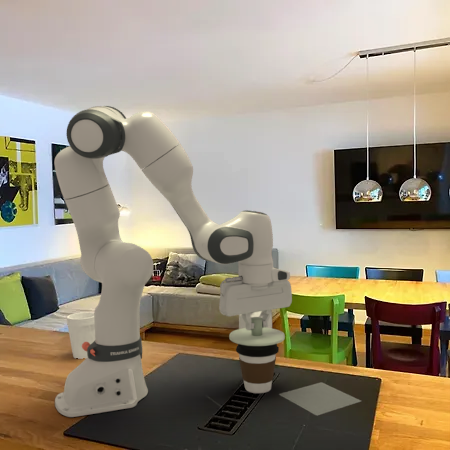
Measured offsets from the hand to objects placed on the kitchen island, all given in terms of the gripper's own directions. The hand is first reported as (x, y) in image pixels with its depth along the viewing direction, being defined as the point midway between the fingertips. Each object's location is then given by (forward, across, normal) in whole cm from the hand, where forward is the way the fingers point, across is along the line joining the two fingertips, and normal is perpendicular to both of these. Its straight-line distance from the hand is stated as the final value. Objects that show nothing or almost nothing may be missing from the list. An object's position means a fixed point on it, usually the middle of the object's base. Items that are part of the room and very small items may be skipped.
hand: (256, 328), depth 119 cm
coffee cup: (+16, 0, 0) cm, 16 cm away
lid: (+2, 0, 0) cm, 2 cm away
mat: (+16, +9, -13) cm, 23 cm away
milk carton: (+16, +11, +17) cm, 26 cm away
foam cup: (+16, -31, +54) cm, 64 cm away
